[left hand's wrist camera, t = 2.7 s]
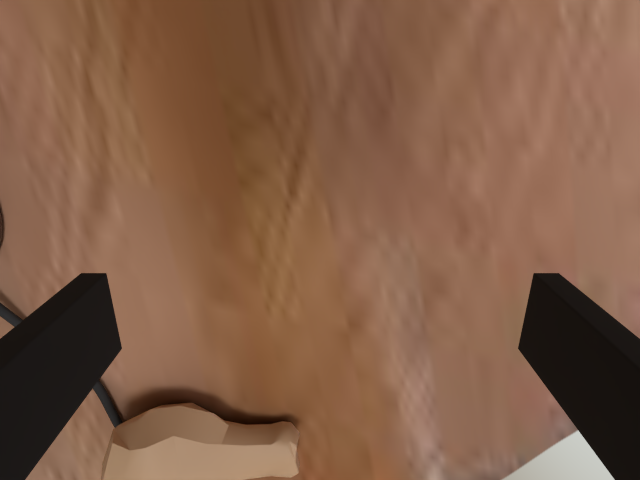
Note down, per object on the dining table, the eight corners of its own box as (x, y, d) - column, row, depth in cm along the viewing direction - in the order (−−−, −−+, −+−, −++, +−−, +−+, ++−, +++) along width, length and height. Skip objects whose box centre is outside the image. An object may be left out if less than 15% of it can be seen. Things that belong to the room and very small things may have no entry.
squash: (113, 387, 45) (78, 443, 36) (297, 379, 48) (306, 429, 39) (119, 475, 47) (87, 548, 38) (295, 462, 50) (303, 527, 41)
